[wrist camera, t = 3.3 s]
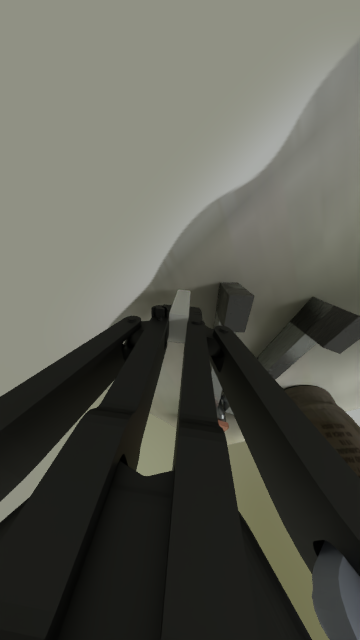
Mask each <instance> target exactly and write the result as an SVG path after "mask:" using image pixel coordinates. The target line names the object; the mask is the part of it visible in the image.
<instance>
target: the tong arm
mask: <svg viewBox="0 0 360 640" xmlns="http://www.w3.org/2000/svg"><path fill="white" fill-rule="evenodd" d="M253 299H254V295H252V294H251V293H250V292H249V291H247V290H246V289H245V288H244V287H242V286H241V285H240V284H239V283H220V286H219V294H218V301H217V308H216V316H215V323H214V327H215V326H218V325H223V326H227V327H228V328H230V329H231V330H232V331H233V332H234V333H235V332H245V329H246V325H247V321H248V317H249V314H250V310H251V306H252V303H253ZM210 367H211V374H212V381H213V388H214V396H215V403H216V409H218V405H219V401H220V397H221V392H222V387H221V385H220V383H219V381H218V378H217V376H216V374H215V372H214V369H213V367H212V365H211V363H210Z"/></svg>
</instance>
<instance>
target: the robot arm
mask: <svg viewBox="0 0 360 640" xmlns="http://www.w3.org/2000/svg"><path fill="white" fill-rule="evenodd" d="M190 292H191V291H189V290H179V289H178V291H177V294H176V296H175V299H174V302H173V304H172V305H165V304H164V305H163V306H162V305H158V306H153V307H152V318H151V320H150V321H141V318H140V317H138V316H129V317H126V318H124V319H122V320H121V321H119V322H118V323H116V324H114V325H113V326H111V327H110V328H108V329H107V330H105V331H103V332H102V333H100V334H99V335H97V336H96V337H94V338H92V339H91V340H89V341H88V342H86V343H84V344H83V345H81V346H80V347H78V348H77V349H75V350H73V351H72V352H70V353H69V354H67V355H66V356H64V357H63V358H61V359H59V360H58V361H56V362H55V363H53V364H51V365H50V366H48V367H47V368H45V369H43V370H42V371H40V372H39V373H37V374H36V375H34V376H33V377H31V378H29V379H28V380H26V381H25V382H23V383H22V384H20V385H18V386H17V387H15V388H14V389H12V390H11V391H9V392H7V393H6V394H4V395H2V396H1V397H0V501H1V500H2V499H3V498H5V497H6V496H7V495H8V494H9V493H10V492H11V491H12V490H13V489H14V488H15V487H16V486H17V485H18V484H19V483H20V482H21V481H22V480H23V479H24V478H25V477H26V476H27V475H28V474H29V473H30V472H31V471H32V470H33V469H34V468H35V467H36V466H37V465H38V464H39V463H40V462H41V461H42V459H43V458H44V457H45V456H46V455H47V454H48V453H49V451H51V449H52V448H53V447H54V446H55V445H56V444H57V443H58V442H59V441H60V439H61V438H62V437H63V436H64V435H65V434H66V433H67V432H68V431H69V429H70V428H71V427H72V426H73V425H74V424H75V423H76V422H77V421H78V419H79V418H80V417H81V416H82V415H83V414H84V413H85V412H86V411H87V410H88V408H89V407H90V406H91V405H92V404H93V403H94V402H95V401H96V400H97V398H98V397H99V396H100V395H101V394H102V393H103V392H104V391H105V390H106V388H107V387H108V386H109V385H110V384H111V383H112V382H113V381H114V382H113V384H112V385H111V387H110V389H109V390H108V392H107V394H106V395H105V397H104V399H103V401H102V402H101V404H100V405H99V406H98V407H97V408H94V409H91V410H89V411H88V412H87V413H86V414H85V415H84V416H83V418H82V419H81V420H80V421H79V423H78V424H77V426H76V427H75V429H74V431H73V432H72V434H71V435H70V437H69V438H68V440H67V441H66V443H65V444H64V446H63V447H62V449H61V450H60V452H59V453H58V455H57V457H56V458H55V460H54V461H53V463H52V464H51V466H50V467H49V469H48V470H47V472H46V473H45V475H44V476H43V478H42V479H41V481H40V482H39V484H38V486H37V487H36V489H35V490H34V492H33V493H32V495H31V496H30V497H29V498H28V499H27V500H26V501H25V502H23V503H22V504H21V505H20V506H19V507H18V508H16V509H15V510H14V511H13V512H12V513H11V514H9V515H8V516H7V517H6V518H5V519H4V520H3V521H1V522H0V640H312V639H311V637H310V635H309V633H308V632H307V630H306V628H305V626H304V624H303V623H302V621H301V619H300V618H299V616H298V614H297V612H296V610H295V609H294V607H293V605H292V603H291V601H290V599H289V598H288V596H287V594H286V592H285V590H284V589H283V587H282V585H281V583H280V582H279V580H278V578H277V576H276V574H275V573H274V571H273V569H272V567H271V565H270V564H269V562H268V560H267V558H266V556H265V555H264V553H263V551H262V549H261V547H260V546H259V544H258V542H257V540H256V539H255V537H254V535H253V533H252V531H251V530H250V528H249V526H248V525H247V523H246V521H245V520H244V518H243V517H242V515H241V514H240V512H239V511H238V507H237V501H236V495H235V489H234V483H233V477H232V471H231V465H230V459H229V453H228V447H227V441H226V437H225V433H224V430H223V428H222V427H221V426H219V423H218V417H217V410H216V403H215V396H214V388H213V381H212V374H211V367H210V363H211V365H212V367H213V369H214V372H215V374H216V376H217V378H218V381H219V383H220V385H221V387H222V389H223V392H224V394H225V396H226V398H227V401H228V403H229V405H230V407H231V410H232V412H233V414H234V416H235V419H236V421H237V423H238V425H239V428H240V430H241V432H242V434H243V436H244V439H245V441H246V443H247V445H248V448H249V450H250V452H251V454H252V457H253V459H254V461H255V463H256V465H257V468H258V470H259V472H260V475H261V477H262V479H263V481H264V483H265V486H266V488H267V490H268V492H269V495H270V497H271V499H272V501H273V503H274V505H275V507H276V510H277V512H278V513H279V516H280V518H281V520H282V522H283V524H284V526H285V528H286V530H287V531H288V533H289V535H290V537H291V539H292V541H293V542H294V544H295V546H296V548H297V550H298V551H299V553H300V555H301V557H302V558H303V560H304V561H305V563H306V565H307V567H308V568H309V570H310V571H311V573H312V581H313V592H312V599H313V604H314V609H315V612H316V614H317V617H318V619H319V622H320V624H321V626H322V628H323V629H324V631H325V633H326V634H327V636H328V638H329V639H330V640H360V478H359V477H358V476H357V474H356V473H355V472H354V471H353V470H352V469H351V467H350V466H349V465H348V464H347V463H346V462H345V460H344V459H343V458H342V457H341V456H340V455H339V454H338V452H337V451H336V450H335V449H334V448H333V447H332V445H331V444H330V443H329V442H328V441H327V440H326V438H325V437H324V436H323V435H322V434H321V433H320V432H319V430H318V429H317V428H316V427H315V426H314V425H313V423H312V422H311V421H310V420H309V419H308V418H307V416H306V415H305V414H304V413H303V412H302V411H301V410H300V408H299V407H298V406H297V405H296V404H295V403H294V401H293V400H292V399H291V398H290V397H289V396H288V395H287V393H286V392H285V391H284V390H283V389H282V388H281V386H280V385H279V384H278V383H277V382H276V381H275V379H274V378H273V377H272V376H271V375H270V374H269V373H268V371H267V370H266V369H265V368H264V367H263V366H262V364H261V363H260V362H259V361H258V360H257V359H256V357H255V356H254V355H253V354H252V353H251V352H250V351H249V349H248V348H247V347H246V346H245V345H244V344H243V342H242V341H241V340H240V339H239V338H238V337H237V335H236V334H235V333H234V332H233V331H232V330H231V329H230V328H228V327H227V326H223V325H218V326H215V327H214V329H211V328H209V327H206V326H205V323H204V321H202V313H201V309H200V308H196V307H189V306H190ZM167 340H168V342H176V343H185V347H184V357H183V368H182V378H181V388H180V399H179V409H178V419H177V431H176V440H175V450H174V459H173V468H172V471H169V472H164V473H160V474H156V475H152V476H143V475H141V474H140V473H138V472H136V469H137V465H138V460H139V454H140V447H141V442H142V438H143V434H144V430H145V427H146V422H147V419H148V415H149V412H150V408H151V404H152V400H153V397H154V393H155V389H156V385H157V382H158V378H159V374H160V370H161V367H162V363H163V359H164V355H165V352H166V348H167ZM124 341H126V342H125V343H124V344H123V342H124ZM115 378H116V379H115Z"/></svg>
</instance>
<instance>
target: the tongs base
mask: <svg viewBox="0 0 360 640" xmlns="http://www.w3.org/2000/svg"><path fill="white" fill-rule="evenodd" d="M359 339H360V316H358V315H356V314H353V313H351V312H349V311H346V310H344V309H341V308H339V307H336V306H334V305H332V304H329V303H327V302H324V301H322V300H319V299H317V298H315V297H312V298H311V299H310V300H309V301H308V303H307V304H306V305H305V306H304V307H303V308H302V309H301V310H300V311H299V312H298V314H297V315H296V316H295V317H294V318H293V319H292V320H291V321H290V322H289V323H288V325H287V326H286V327H285V328H284V329H283V330H282V331H281V332H280V333H279V334H278V336H277V337H276V338H275V339H274V340H273V341H272V342H271V343H270V344H269V346H268V347H267V348H266V349H265V350H264V351H263V352H262V353H261V354H260V355H259V357H258V358H257V360H258V361H259V362H260V363H261V364H262V366H263V367H264V368H265V369H266V370H267V371H268V373H269V374H270V375H271V376H272V377H273V378H274V379H277V378H278V377H279V376H280V375H281V374H282V373H283V372H284V371H286V370H287V369H288V368H289V367H290V366H291V365H292V364H294V363H295V362H296V361H297V360H298V359H299V358H300V357H301V356H303V355H304V354H305V353H306V352H307V351H308V350H309V349H311V348H312V347H313V346H314V345H315V344H316V343H318V344H319V345H320V346H322V347H323V348H326V349H329V350H331V351H334V352H337V353H339V354H340V353H342V352H343V351H344V350H346V349H347V348H348V347H350V346H351V345H352V344H354V343H355V342H356V341H358V340H359ZM223 405H224V407H223ZM216 410H217V417H218V420H220V421H223V422H226V418H225V413H224V411H225V412H226V413H230V414H233V412H232V410H231V407H230V405H229V403H228V401H227V398H226V396H225V394H224V395H223V396H221V397H220V401H219V405H218V409H216ZM233 415H234V414H233Z"/></svg>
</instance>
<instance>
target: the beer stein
mask: <svg viewBox="0 0 360 640" xmlns="http://www.w3.org/2000/svg"><path fill="white" fill-rule="evenodd" d="M284 391H285V392H286V393H287V395H288V396H289V397H290V398H291V399H292V400H293V401H294V403H295V404H296V405H297V406H298V407H299V408H300V410H301V411H302V412H303V413H304V414H305V415H306V416H307V418H308V419H309V420H310V421H311V422H312V423H313V425H314V426H315V427H316V428H317V429H318V430H319V432H320V433H321V434H322V435H323V436H324V437H325V438H326V440H327V441H328V442H329V443H330V444H331V445H332V447H333V448H334V449H335V450H336V451H337V452H338V454H339V455H340V456H341V457H342V458H343V459H344V460H345V462H346V463H347V464H348V465H349V466H350V467H351V469H352V470H353V471H354V472H355V473H356V474H357V476H358V477H359V478H360V427H359V426H358V425H357V424H356V423H355V422H354V420H353V419H352V418H351V417H350V416H349V415H348V414H347V413H346V412H345V411H344V410H343V409H341V408H340V407H339V406H337V404H336V403H335V401H334V399H333V398H332V396H331V395H330V394H329V393H328V392H327V391H326V390H324V389H322V388H319V387H316V386H296V387H292V388H288V389H285V390H284Z"/></svg>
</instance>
